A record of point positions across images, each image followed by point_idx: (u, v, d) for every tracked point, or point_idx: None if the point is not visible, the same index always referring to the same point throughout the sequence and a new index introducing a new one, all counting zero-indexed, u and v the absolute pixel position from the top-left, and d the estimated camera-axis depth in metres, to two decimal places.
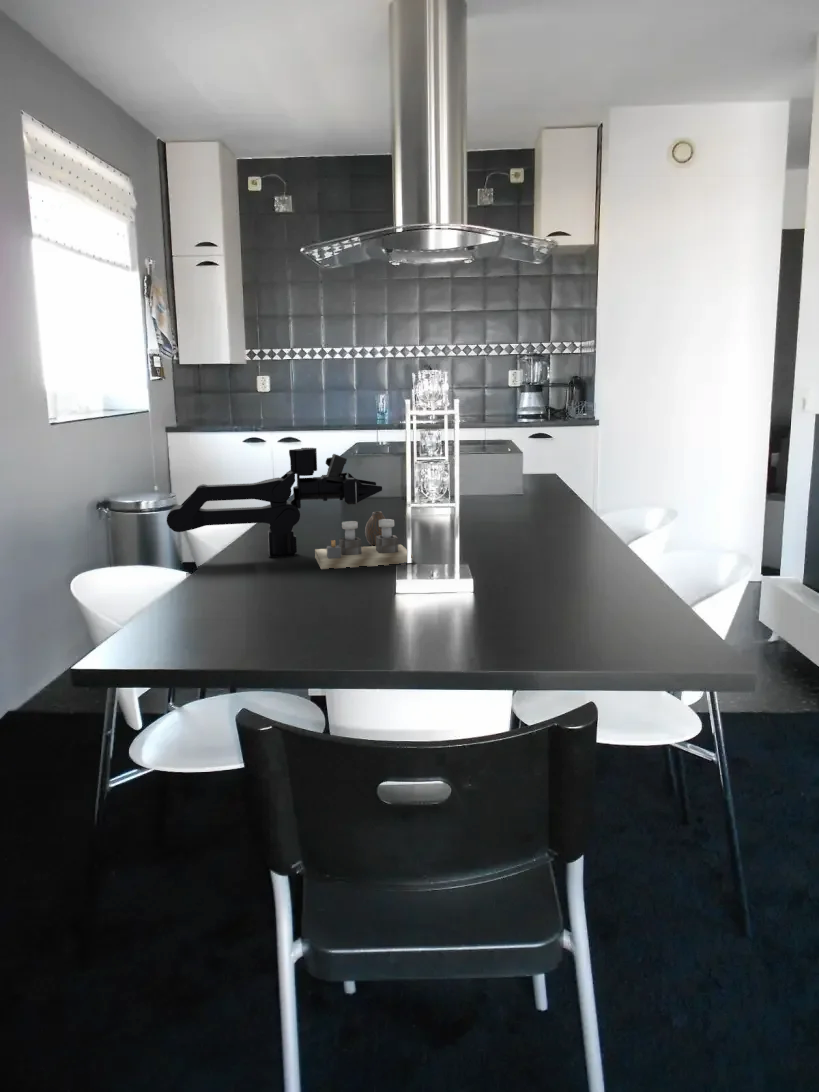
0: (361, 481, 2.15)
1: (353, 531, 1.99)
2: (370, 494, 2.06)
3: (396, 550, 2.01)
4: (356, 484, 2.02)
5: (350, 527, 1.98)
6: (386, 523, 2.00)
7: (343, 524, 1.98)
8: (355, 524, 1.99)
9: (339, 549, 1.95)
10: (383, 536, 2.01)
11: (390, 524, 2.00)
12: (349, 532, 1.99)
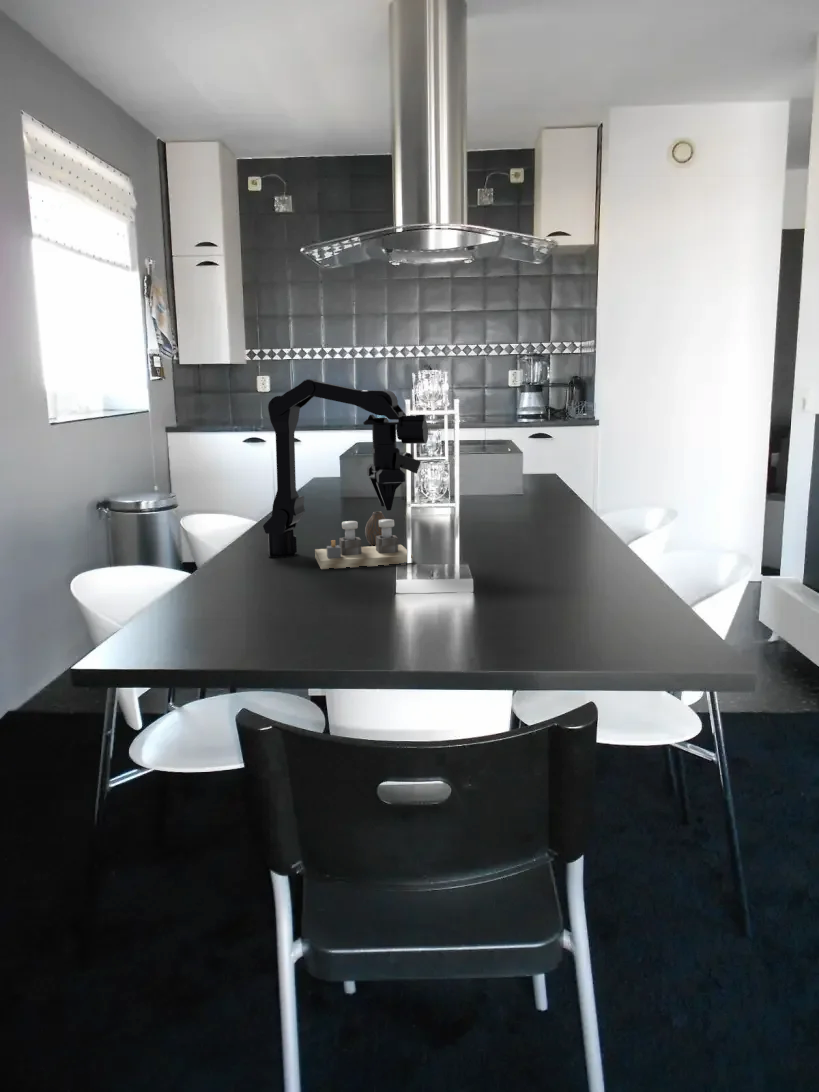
0: None
1: (353, 531, 1.99)
2: (384, 498, 1.96)
3: (396, 550, 2.01)
4: (397, 482, 1.93)
5: (350, 527, 1.98)
6: (386, 523, 2.00)
7: (343, 524, 1.98)
8: (355, 524, 1.99)
9: (339, 549, 1.95)
10: (383, 536, 2.01)
11: (390, 524, 2.00)
12: (349, 532, 1.99)
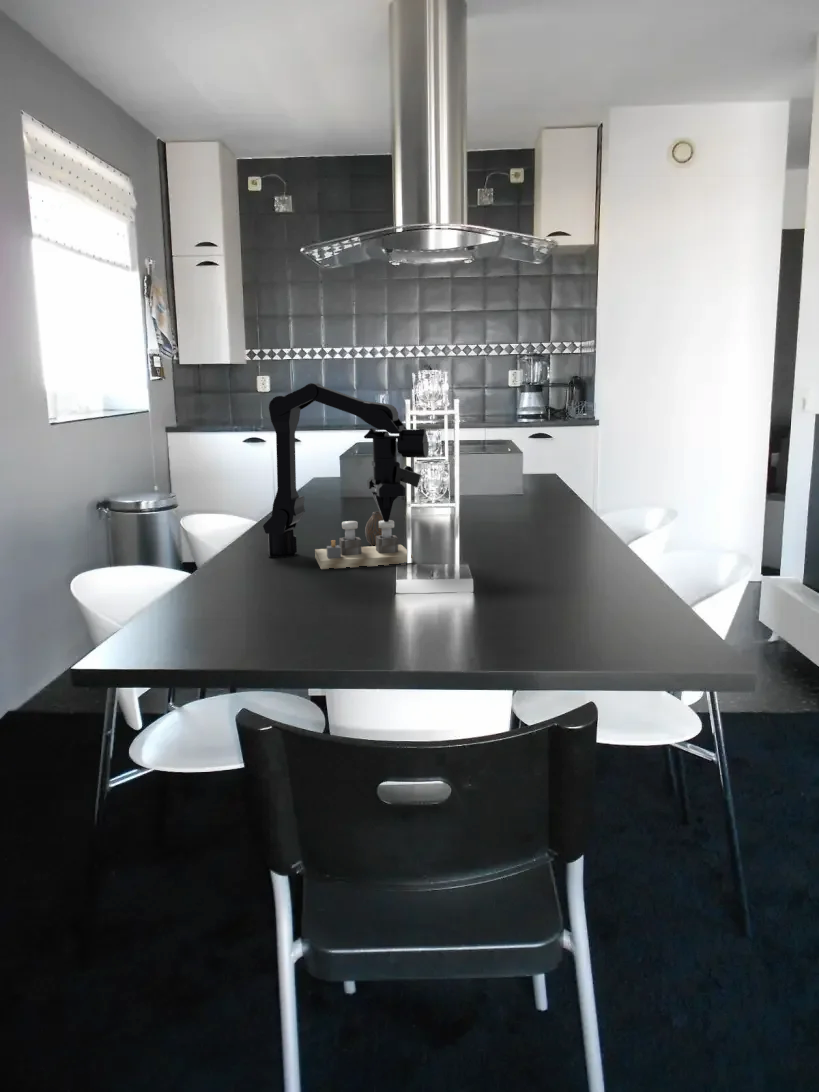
0: None
1: (353, 531, 1.99)
2: (381, 509, 1.99)
3: (396, 550, 2.01)
4: None
5: (350, 527, 1.98)
6: (386, 524, 2.00)
7: (343, 524, 1.98)
8: (355, 524, 1.99)
9: (339, 549, 1.95)
10: (383, 537, 2.01)
11: (390, 525, 2.00)
12: (349, 532, 1.99)
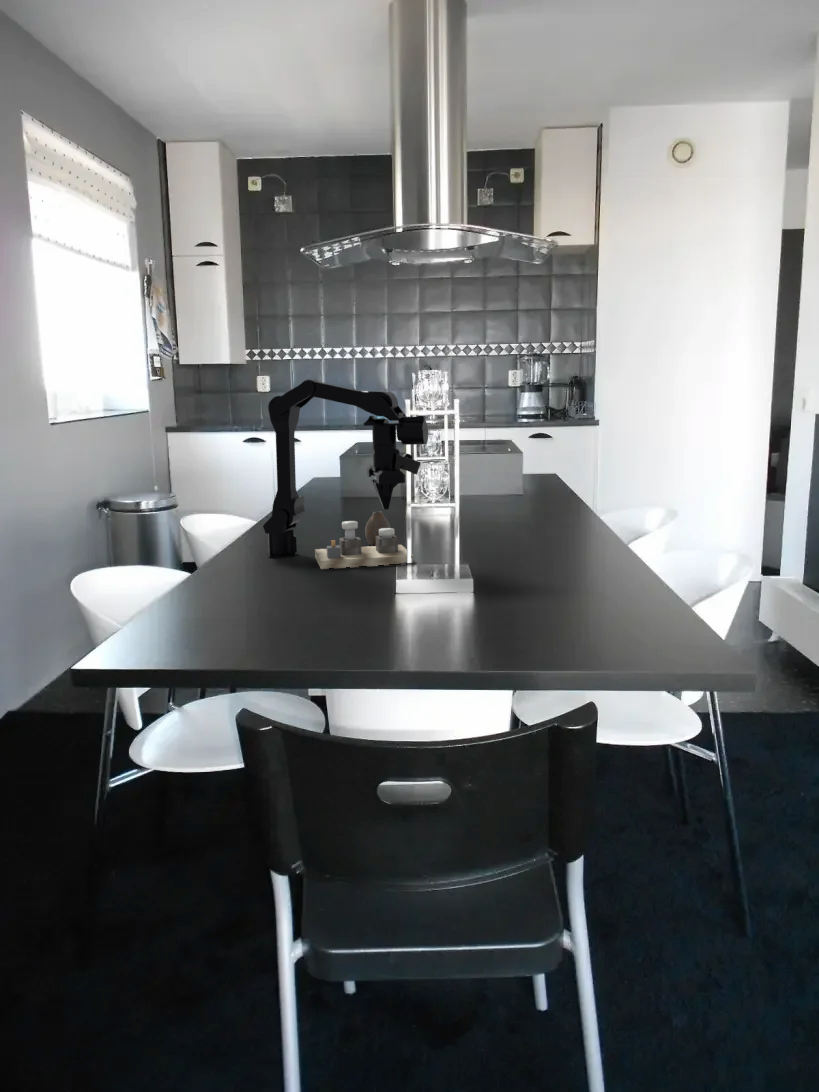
0: None
1: (353, 531, 1.99)
2: (381, 497, 1.99)
3: (396, 550, 2.01)
4: None
5: (350, 527, 1.98)
6: (386, 532, 2.00)
7: (343, 524, 1.98)
8: (355, 524, 1.99)
9: (339, 549, 1.95)
10: None
11: (390, 533, 2.00)
12: (349, 532, 1.99)
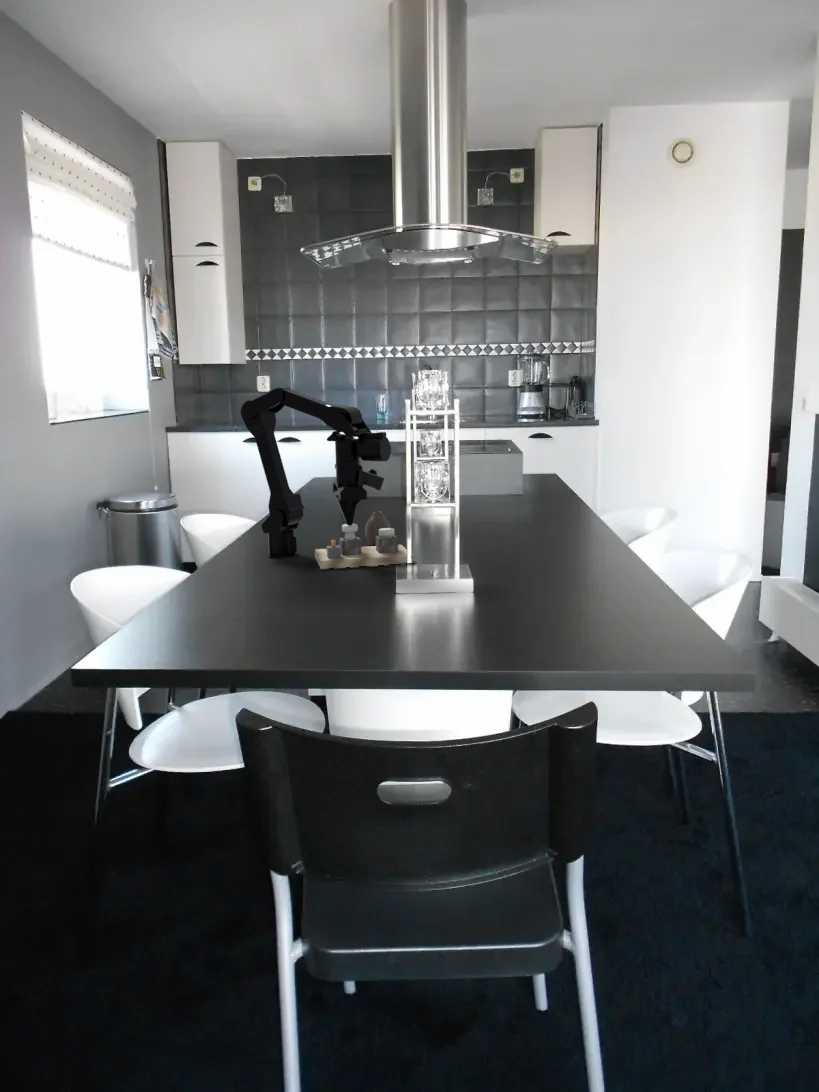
0: None
1: (353, 534, 1.99)
2: (344, 513, 1.98)
3: (396, 550, 2.01)
4: None
5: (350, 530, 1.98)
6: (386, 532, 2.00)
7: (343, 527, 1.99)
8: (356, 526, 1.99)
9: (339, 549, 1.95)
10: None
11: (390, 533, 2.00)
12: (349, 535, 1.99)
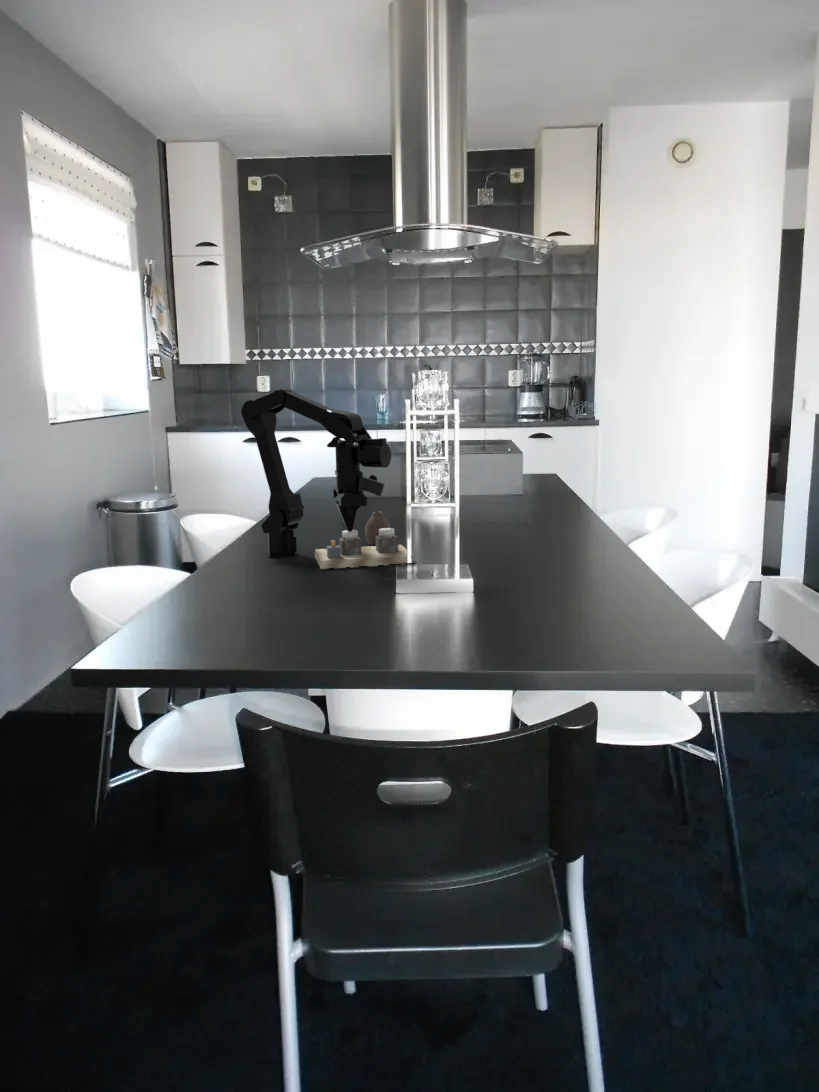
0: None
1: None
2: (345, 519, 1.98)
3: (396, 550, 2.01)
4: None
5: (350, 536, 1.98)
6: (386, 532, 2.00)
7: (343, 533, 1.99)
8: (356, 533, 1.99)
9: (339, 549, 1.95)
10: None
11: (390, 533, 2.00)
12: None
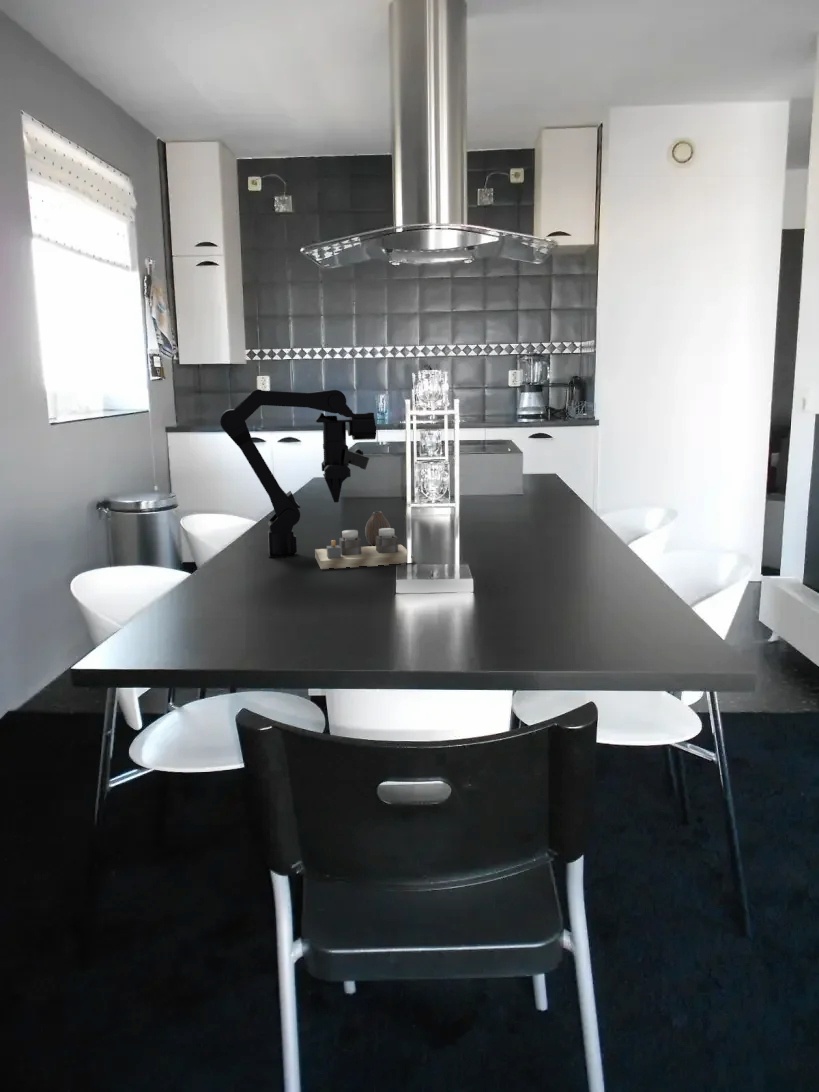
0: None
1: None
2: (331, 490, 2.08)
3: (396, 550, 2.01)
4: (343, 476, 2.06)
5: (350, 536, 1.98)
6: (386, 532, 2.00)
7: (343, 533, 1.99)
8: (356, 533, 1.99)
9: (339, 549, 1.95)
10: None
11: (390, 533, 2.00)
12: None
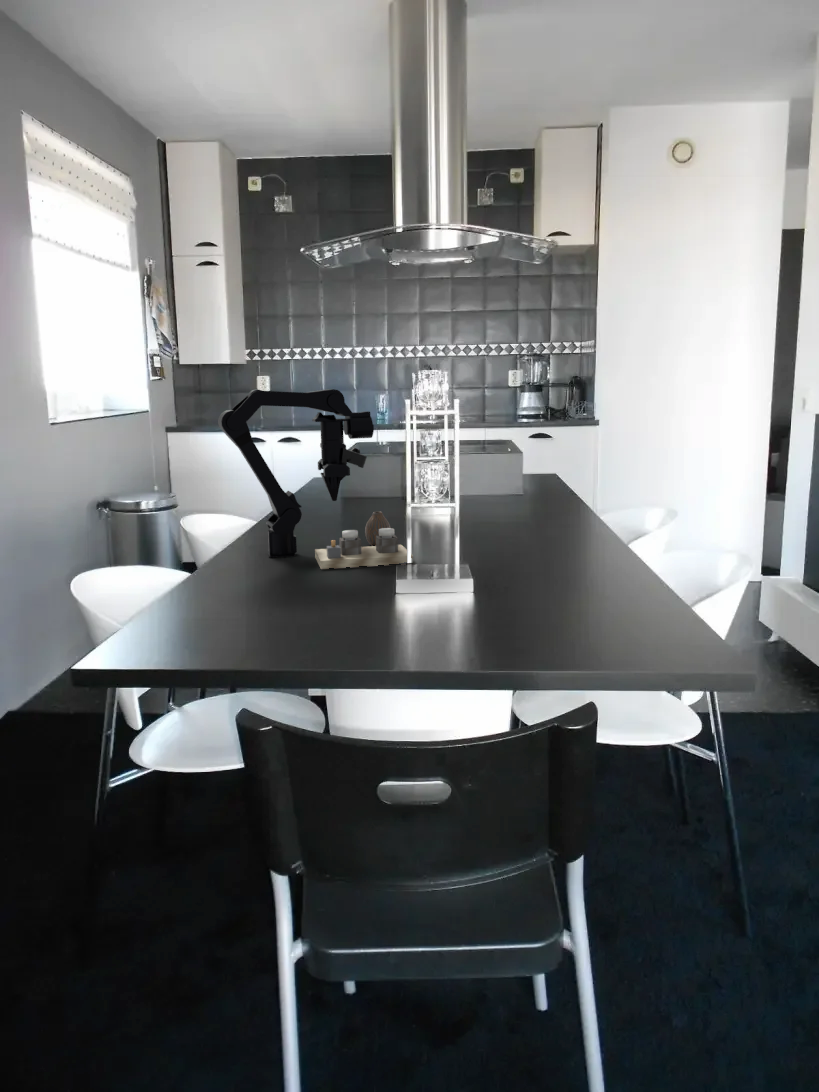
0: None
1: None
2: (329, 489, 2.10)
3: (396, 550, 2.01)
4: None
5: (350, 536, 1.98)
6: (386, 532, 2.00)
7: (343, 533, 1.99)
8: (356, 533, 1.99)
9: (339, 549, 1.95)
10: None
11: (390, 533, 2.00)
12: None
